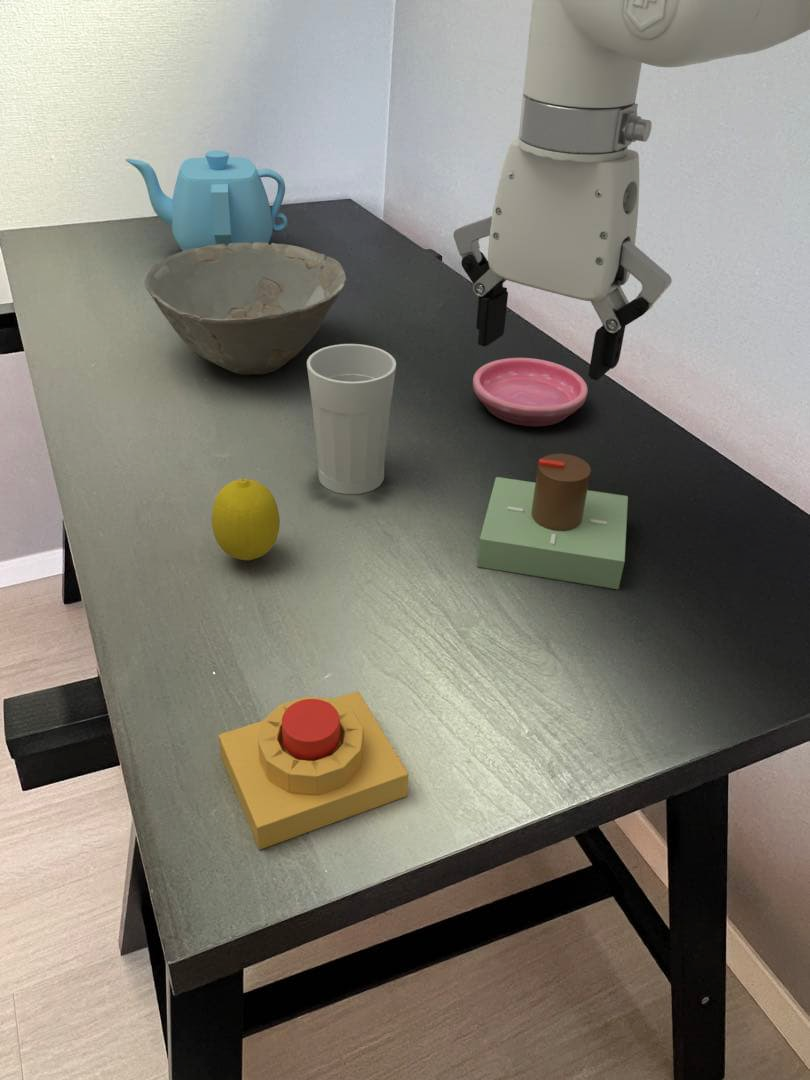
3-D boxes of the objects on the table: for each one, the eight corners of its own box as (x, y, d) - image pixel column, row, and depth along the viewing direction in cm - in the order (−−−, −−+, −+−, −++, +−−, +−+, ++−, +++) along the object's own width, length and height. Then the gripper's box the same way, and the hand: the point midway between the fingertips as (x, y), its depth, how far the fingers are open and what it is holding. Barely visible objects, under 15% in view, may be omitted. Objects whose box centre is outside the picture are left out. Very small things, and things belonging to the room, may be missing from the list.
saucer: (548, 374, 111) (551, 349, 109) (605, 424, 102) (610, 397, 100) (452, 390, 107) (454, 364, 105) (503, 443, 98) (506, 416, 96)
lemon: (292, 567, 80) (288, 488, 75) (230, 586, 77) (222, 506, 73) (266, 533, 83) (261, 455, 79) (206, 550, 81) (197, 471, 76)
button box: (358, 712, 67) (358, 671, 64) (407, 796, 61) (410, 754, 59) (220, 756, 63) (215, 715, 61) (259, 850, 57) (255, 808, 55)
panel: (622, 523, 87) (628, 494, 85) (618, 589, 79) (625, 559, 77) (492, 503, 89) (496, 475, 87) (476, 566, 81) (479, 537, 79)
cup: (404, 490, 90) (409, 375, 83) (324, 505, 87) (322, 388, 80) (375, 449, 96) (377, 339, 89) (299, 462, 93) (295, 349, 86)
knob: (583, 505, 83) (593, 454, 80) (580, 534, 80) (590, 481, 77) (534, 498, 84) (541, 447, 81) (528, 526, 81) (535, 473, 77)
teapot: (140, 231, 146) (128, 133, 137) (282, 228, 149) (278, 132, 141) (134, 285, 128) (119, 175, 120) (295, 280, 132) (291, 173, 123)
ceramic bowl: (138, 402, 102) (125, 315, 96) (173, 316, 120) (164, 238, 115) (344, 405, 103) (344, 319, 97) (347, 320, 121) (347, 243, 116)
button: (327, 711, 62) (326, 692, 61) (348, 749, 59) (348, 730, 58) (274, 727, 60) (273, 708, 59) (294, 768, 58) (293, 748, 57)
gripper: (715, 137, 64) (665, 369, 74) (491, 98, 71) (473, 314, 81) (676, 160, 58) (627, 406, 69) (438, 115, 66) (426, 343, 76)
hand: (544, 356), depth 75 cm, fingers open, 9 cm apart
